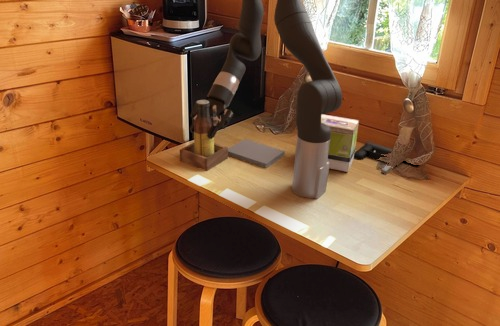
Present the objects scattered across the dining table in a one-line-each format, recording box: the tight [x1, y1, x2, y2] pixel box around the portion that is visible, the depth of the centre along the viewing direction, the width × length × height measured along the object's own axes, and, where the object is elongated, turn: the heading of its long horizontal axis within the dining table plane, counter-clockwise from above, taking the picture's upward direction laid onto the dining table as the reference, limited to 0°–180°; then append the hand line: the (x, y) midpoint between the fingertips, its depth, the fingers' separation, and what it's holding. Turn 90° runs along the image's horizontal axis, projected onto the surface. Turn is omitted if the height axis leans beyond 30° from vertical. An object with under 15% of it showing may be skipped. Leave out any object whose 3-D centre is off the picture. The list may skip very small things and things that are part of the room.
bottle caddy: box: [179, 142, 229, 172], centre depth 157 cm, size 11×11×4 cm
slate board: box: [228, 138, 286, 169], centre depth 162 cm, size 16×12×2 cm
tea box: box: [321, 114, 360, 173], centre depth 157 cm, size 15×10×15 cm, turn 69°
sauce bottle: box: [193, 99, 215, 157], centre depth 153 cm, size 6×6×20 cm
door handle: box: [354, 141, 393, 175], centre depth 162 cm, size 3×20×16 cm
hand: (200, 134), depth 152 cm, fingers closed on sauce bottle, 6 cm apart
